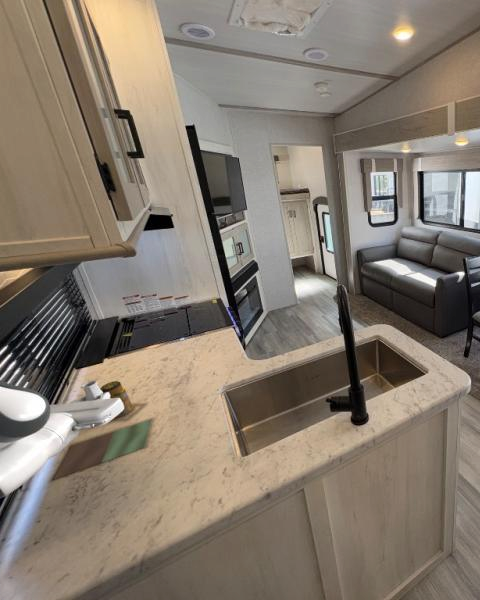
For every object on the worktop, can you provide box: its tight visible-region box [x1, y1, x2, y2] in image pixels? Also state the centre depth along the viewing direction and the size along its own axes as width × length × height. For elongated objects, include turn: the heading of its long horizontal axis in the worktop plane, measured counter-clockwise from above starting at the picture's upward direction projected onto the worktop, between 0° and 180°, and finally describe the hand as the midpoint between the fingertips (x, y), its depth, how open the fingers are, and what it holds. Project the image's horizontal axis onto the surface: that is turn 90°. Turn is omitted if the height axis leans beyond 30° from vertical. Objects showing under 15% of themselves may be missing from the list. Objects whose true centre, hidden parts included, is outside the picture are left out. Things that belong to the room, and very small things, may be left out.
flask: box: [80, 380, 111, 401], centre depth 85 cm, size 7×7×10 cm
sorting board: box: [53, 419, 152, 481], centre depth 94 cm, size 20×14×1 cm
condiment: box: [99, 380, 134, 419], centre depth 106 cm, size 7×8×12 cm
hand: (98, 395), depth 86 cm, fingers closed on flask, 3 cm apart
